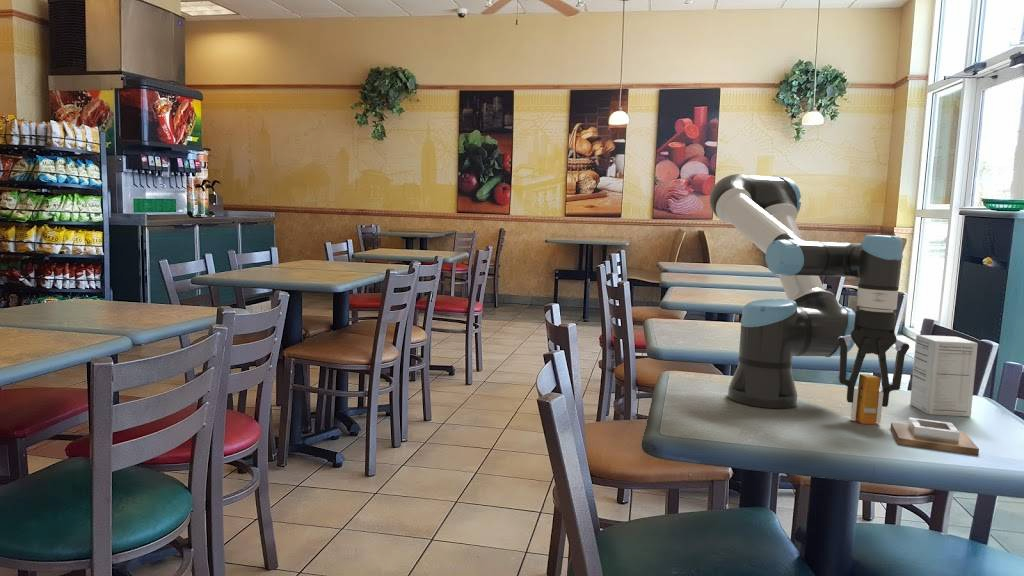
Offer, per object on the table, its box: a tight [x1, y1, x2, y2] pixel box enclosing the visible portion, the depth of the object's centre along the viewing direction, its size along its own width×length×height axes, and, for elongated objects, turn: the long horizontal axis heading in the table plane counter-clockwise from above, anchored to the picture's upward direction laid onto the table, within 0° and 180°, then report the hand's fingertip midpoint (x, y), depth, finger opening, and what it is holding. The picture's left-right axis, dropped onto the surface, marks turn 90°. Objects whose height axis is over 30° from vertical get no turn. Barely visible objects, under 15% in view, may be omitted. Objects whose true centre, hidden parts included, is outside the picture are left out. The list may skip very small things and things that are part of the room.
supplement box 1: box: [854, 373, 881, 425], centre depth 148 cm, size 3×3×10 cm
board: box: [890, 421, 980, 456], centre depth 137 cm, size 13×12×1 cm
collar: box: [908, 417, 960, 443], centre depth 137 cm, size 7×7×2 cm
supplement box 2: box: [909, 334, 979, 417], centre depth 161 cm, size 10×9×17 cm
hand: (865, 419), depth 148 cm, fingers closed on supplement box 1, 4 cm apart
